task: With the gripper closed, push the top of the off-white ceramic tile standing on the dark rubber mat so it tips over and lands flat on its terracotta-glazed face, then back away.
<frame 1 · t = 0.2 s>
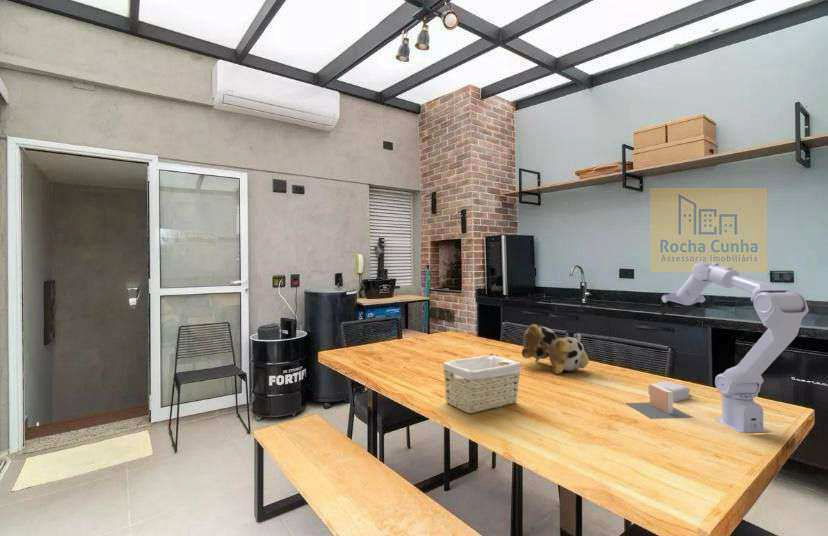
hand: (671, 312, 147), 31 cm above the table, tool tilted 45°, fingers open, 7 cm apart
toy: (552, 368, 187), on the table
object: (482, 403, 141), on the table
charger: (673, 397, 147), on the table
figurine: (479, 370, 184), on the table
tile: (660, 408, 133), resting on mat
mat: (657, 411, 132), on the table
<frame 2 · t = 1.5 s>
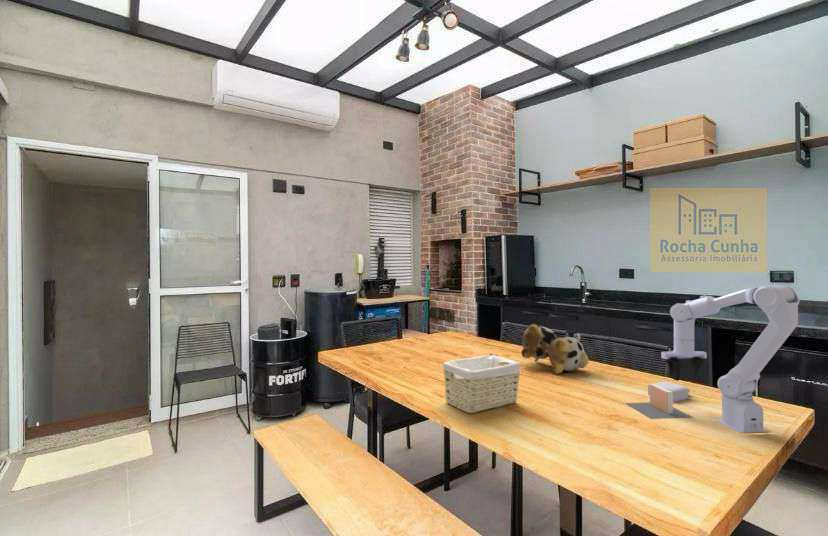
hand: (683, 379, 133), 10 cm above the table, tool pointing down, fingers open, 5 cm apart
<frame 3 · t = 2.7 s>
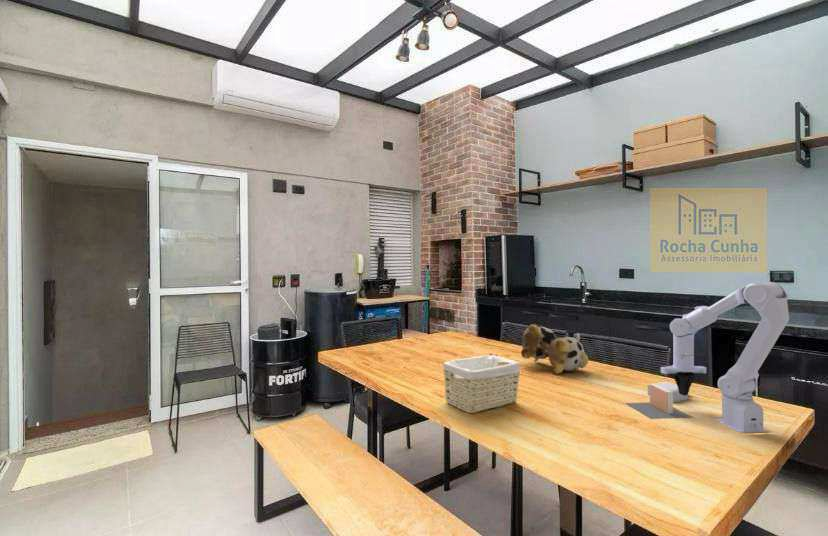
hand: (683, 394, 133), 5 cm above the table, tool pointing down, fingers closed
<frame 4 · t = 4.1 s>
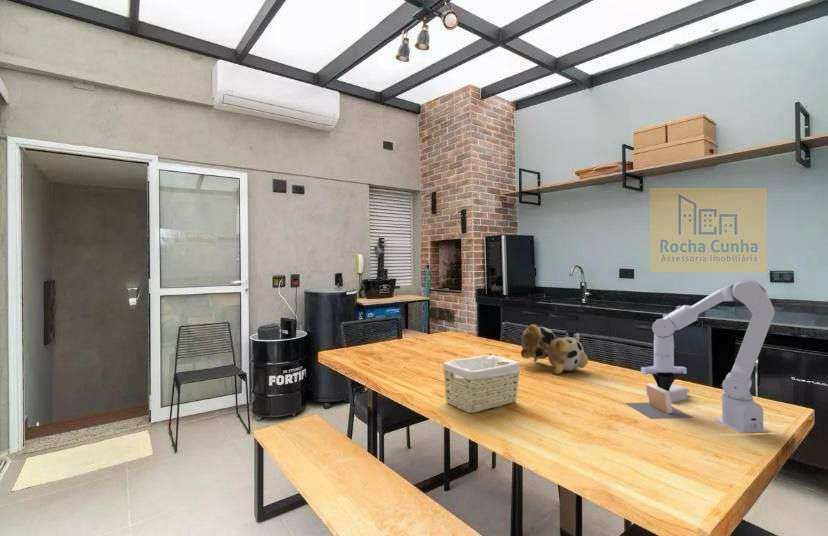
hand: (663, 395, 133), 5 cm above the table, tool pointing down, fingers closed
tile: (660, 408, 133), point 1 cm above the table, tilted 10°, touching mat
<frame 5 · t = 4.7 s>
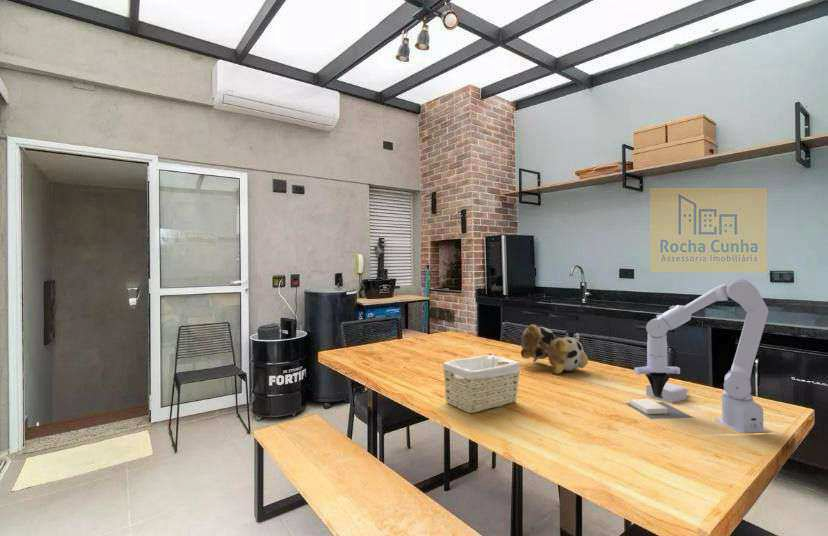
hand: (657, 395, 133), 5 cm above the table, tool pointing down, fingers closed
tile: (658, 405, 133), point 1 cm above the table, tilted 90°, touching mat
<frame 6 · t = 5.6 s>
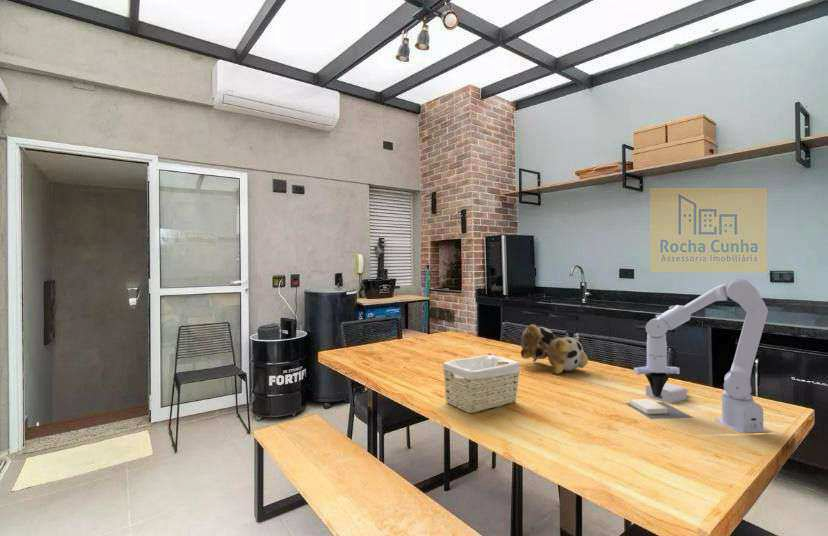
hand: (656, 395, 133), 5 cm above the table, tool pointing down, fingers closed
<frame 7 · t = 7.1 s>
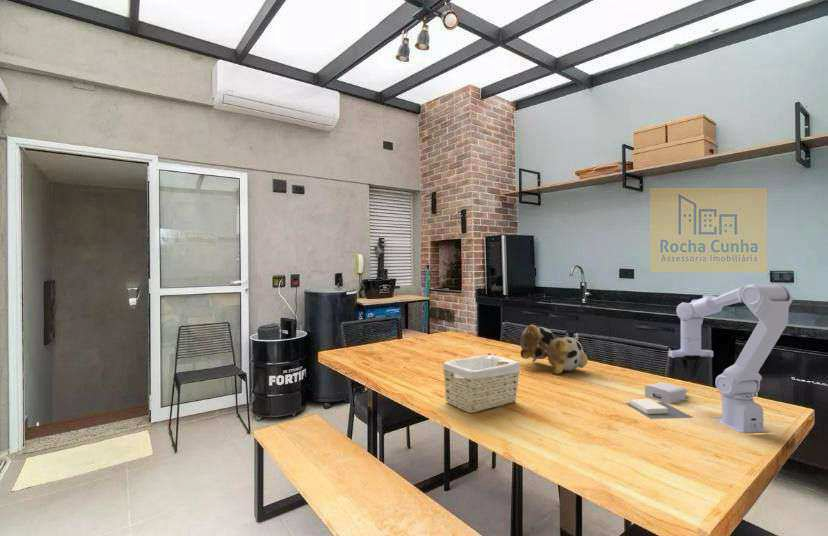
hand: (690, 377, 136), 10 cm above the table, tool pointing down, fingers closed
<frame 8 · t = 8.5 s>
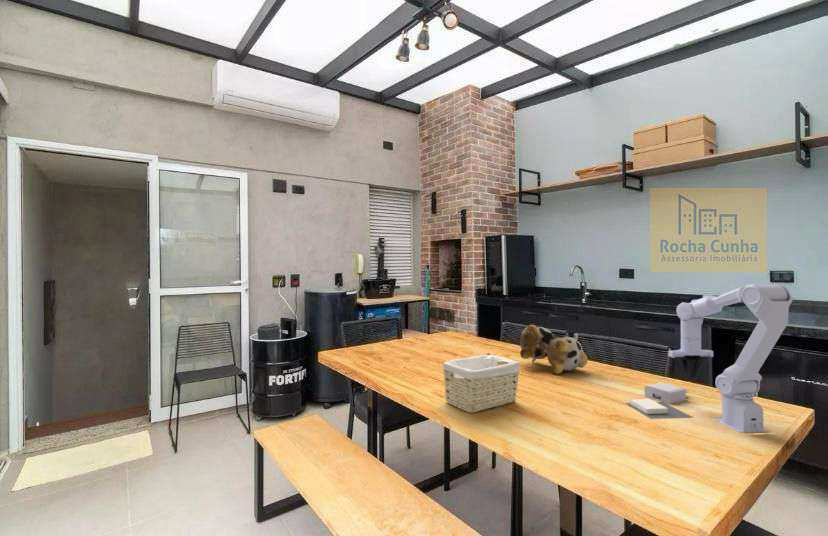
hand: (690, 377, 136), 10 cm above the table, tool pointing down, fingers closed
at the end: tile tilted 90°; tile inside the target area (2.6 cm from its centre), point 1.4 cm above the table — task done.
